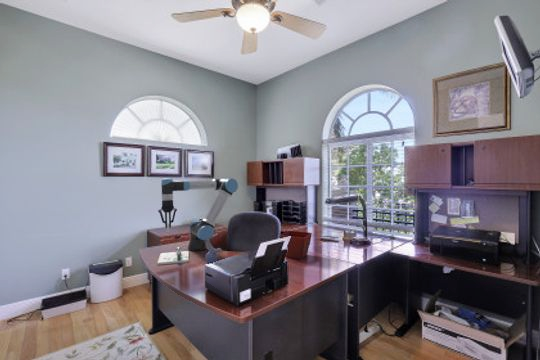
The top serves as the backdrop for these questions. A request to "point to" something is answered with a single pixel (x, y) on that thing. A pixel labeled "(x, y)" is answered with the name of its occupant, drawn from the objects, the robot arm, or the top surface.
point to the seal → (211, 251)
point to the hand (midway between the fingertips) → (168, 232)
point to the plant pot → (297, 243)
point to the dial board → (172, 258)
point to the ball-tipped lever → (178, 253)
